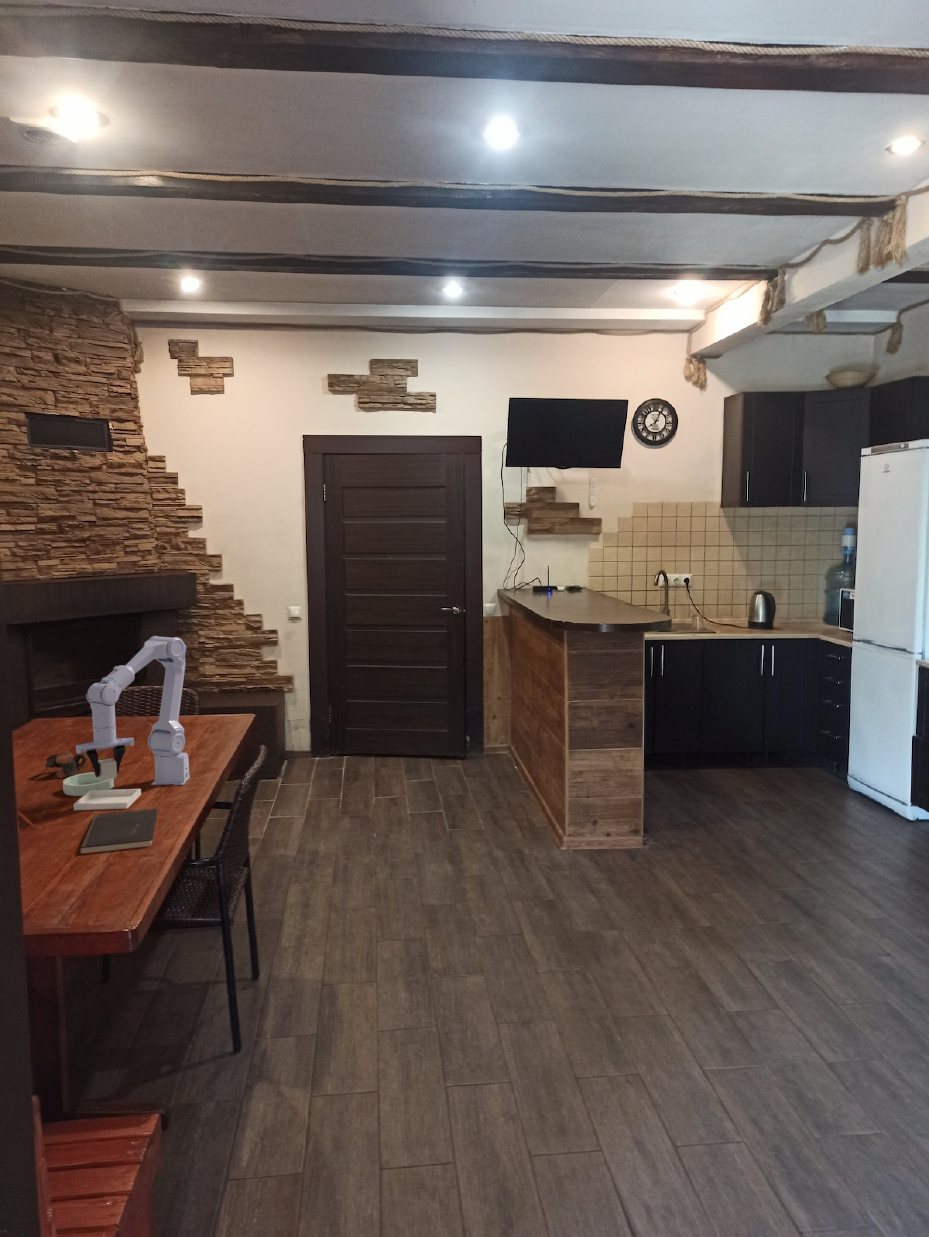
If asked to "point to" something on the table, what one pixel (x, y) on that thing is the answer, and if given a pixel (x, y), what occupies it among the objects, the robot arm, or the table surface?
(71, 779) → the bowl
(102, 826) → the hardcover book
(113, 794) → the tray
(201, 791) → the table surface
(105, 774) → the block
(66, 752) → the pottery mug
